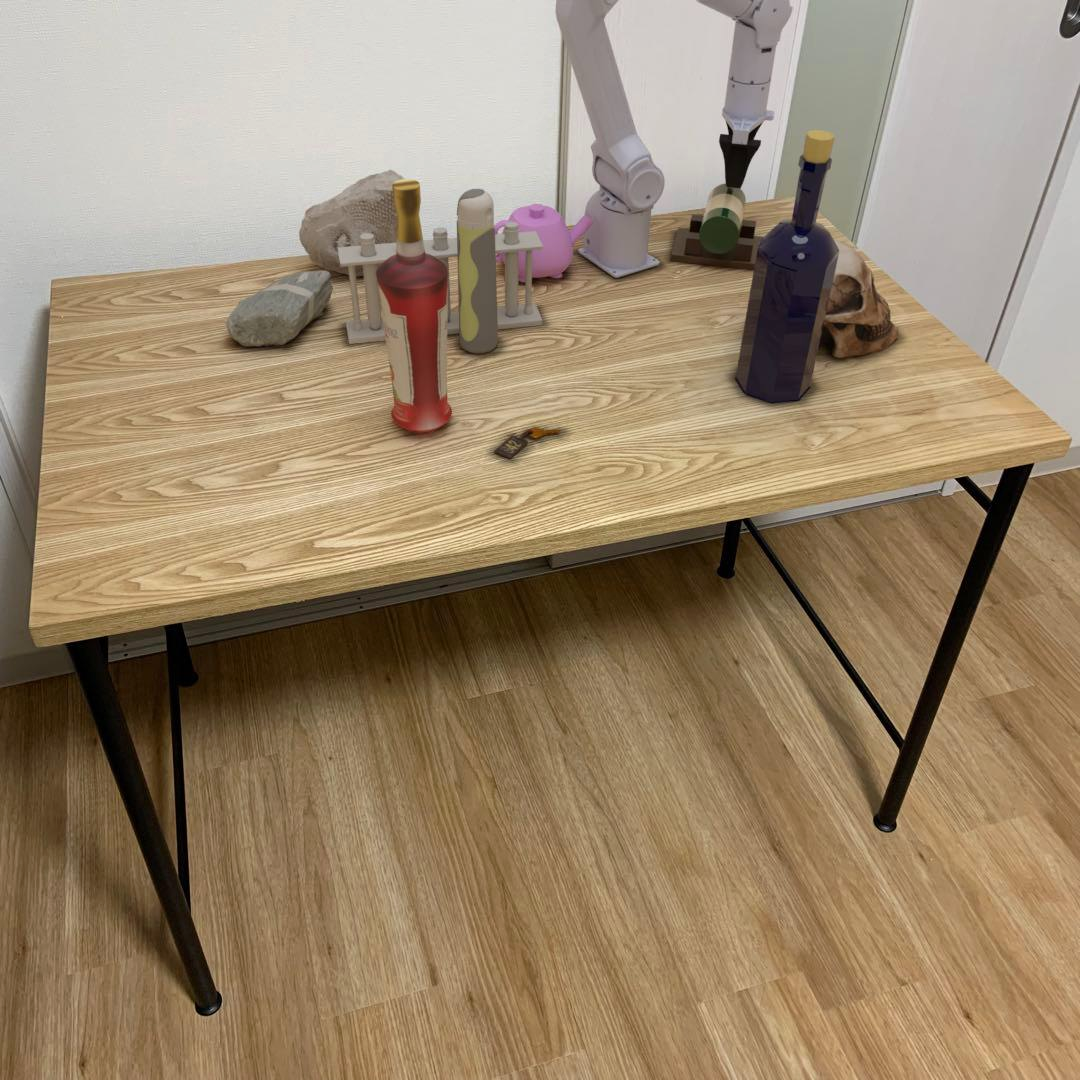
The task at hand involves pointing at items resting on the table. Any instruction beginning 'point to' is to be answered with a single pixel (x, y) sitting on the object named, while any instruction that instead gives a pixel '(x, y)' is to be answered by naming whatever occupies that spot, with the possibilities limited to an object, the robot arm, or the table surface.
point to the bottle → (790, 290)
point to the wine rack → (694, 252)
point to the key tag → (520, 441)
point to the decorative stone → (280, 309)
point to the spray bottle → (477, 272)
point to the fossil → (351, 220)
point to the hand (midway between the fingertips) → (735, 176)
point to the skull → (855, 309)
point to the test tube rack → (441, 250)
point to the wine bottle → (722, 219)
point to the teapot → (545, 239)
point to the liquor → (415, 320)
